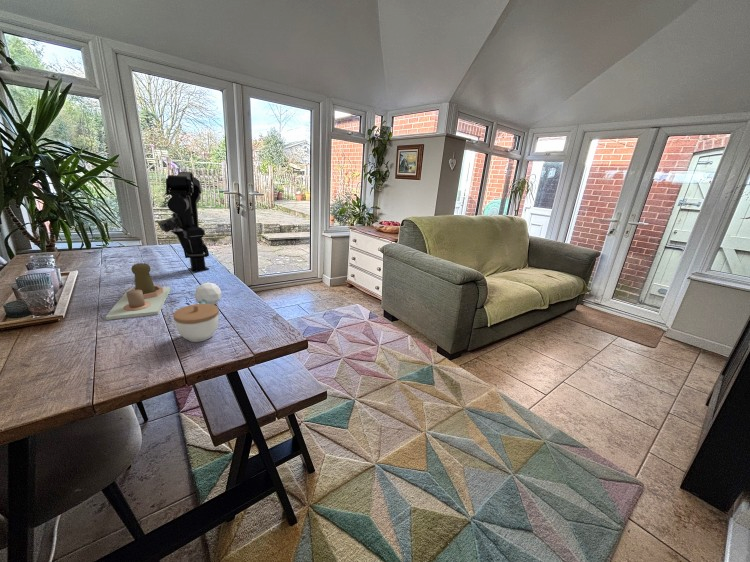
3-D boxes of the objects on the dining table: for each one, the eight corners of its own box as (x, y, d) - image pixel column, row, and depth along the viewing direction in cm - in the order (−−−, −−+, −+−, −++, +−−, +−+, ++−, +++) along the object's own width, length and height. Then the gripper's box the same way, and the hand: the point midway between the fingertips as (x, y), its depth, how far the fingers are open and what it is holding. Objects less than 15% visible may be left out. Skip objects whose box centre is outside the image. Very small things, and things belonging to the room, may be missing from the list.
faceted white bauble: (228, 289, 108) (223, 307, 98) (209, 302, 108) (202, 321, 98) (211, 274, 104) (204, 290, 93) (191, 287, 104) (183, 305, 94)
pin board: (128, 292, 109) (124, 276, 107) (170, 289, 114) (168, 274, 112) (106, 319, 89) (101, 301, 87) (158, 314, 95) (155, 296, 93)
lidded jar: (227, 338, 84) (223, 307, 81) (183, 351, 77) (177, 318, 74) (214, 323, 91) (210, 295, 88) (173, 334, 84) (167, 304, 81)
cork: (132, 297, 103) (125, 266, 99) (140, 291, 108) (134, 261, 105) (152, 296, 104) (146, 266, 101) (159, 290, 110) (153, 261, 106)
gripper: (149, 208, 113) (157, 249, 118) (168, 214, 102) (175, 258, 107) (182, 207, 121) (187, 245, 126) (202, 212, 111) (208, 253, 116)
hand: (189, 250), depth 119 cm, fingers open, 9 cm apart
